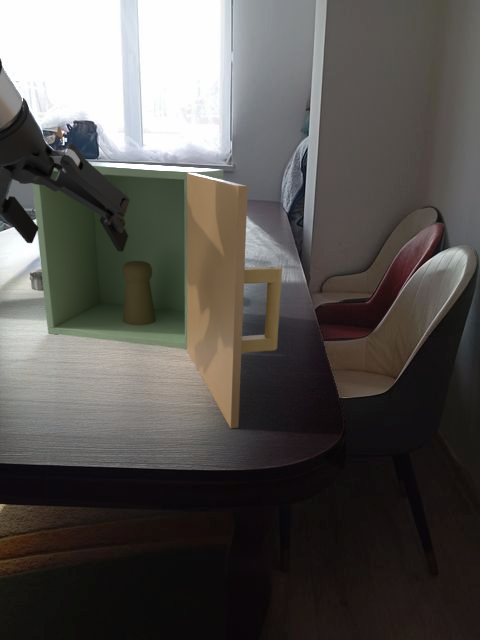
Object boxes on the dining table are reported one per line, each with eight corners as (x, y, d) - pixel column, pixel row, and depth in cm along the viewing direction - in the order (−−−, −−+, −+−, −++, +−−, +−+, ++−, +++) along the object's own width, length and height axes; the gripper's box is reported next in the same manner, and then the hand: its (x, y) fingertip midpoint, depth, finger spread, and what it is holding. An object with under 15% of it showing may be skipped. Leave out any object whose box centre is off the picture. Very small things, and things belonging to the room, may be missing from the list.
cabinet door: (224, 348, 87) (228, 174, 77) (279, 422, 64) (295, 187, 54) (187, 351, 85) (187, 172, 75) (230, 428, 62) (238, 185, 52)
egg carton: (29, 290, 116) (26, 272, 114) (33, 282, 122) (31, 265, 121) (79, 289, 118) (77, 272, 117) (80, 281, 125) (79, 265, 124)
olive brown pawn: (160, 317, 98) (159, 260, 94) (148, 326, 93) (146, 266, 89) (130, 314, 99) (128, 257, 95) (117, 323, 94) (113, 263, 90)
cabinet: (191, 350, 86) (191, 171, 76) (47, 333, 90) (30, 161, 80) (220, 319, 103) (223, 169, 93) (97, 306, 107) (87, 161, 97)
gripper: (-133, 133, 53) (-14, 253, 72) (92, 146, 49) (155, 270, 68) (-100, 82, 56) (6, 211, 75) (114, 91, 52) (168, 224, 71)
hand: (77, 239), depth 72 cm, fingers open, 13 cm apart
